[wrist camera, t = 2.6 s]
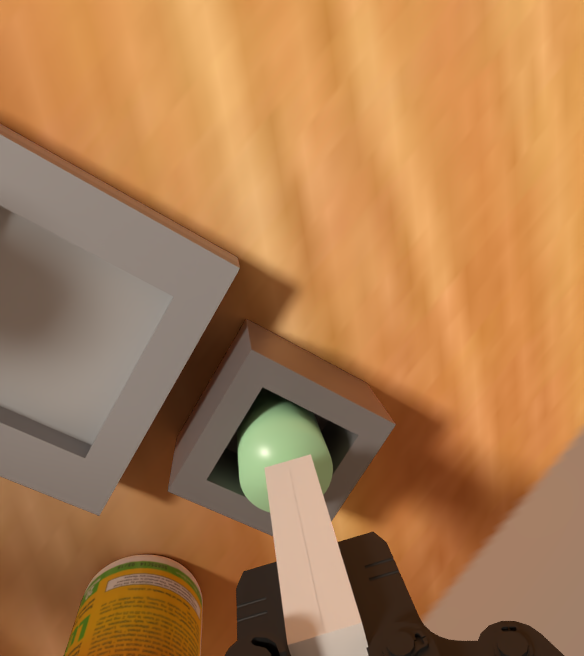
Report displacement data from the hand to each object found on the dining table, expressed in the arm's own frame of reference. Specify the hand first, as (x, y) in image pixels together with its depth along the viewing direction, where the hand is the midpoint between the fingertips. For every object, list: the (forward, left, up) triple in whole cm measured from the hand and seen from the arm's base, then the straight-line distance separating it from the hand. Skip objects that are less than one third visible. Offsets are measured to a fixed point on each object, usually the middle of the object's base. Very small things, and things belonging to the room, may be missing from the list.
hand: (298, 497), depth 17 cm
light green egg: (0, 0, -5) cm, 5 cm away
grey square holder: (0, 0, -6) cm, 6 cm away
